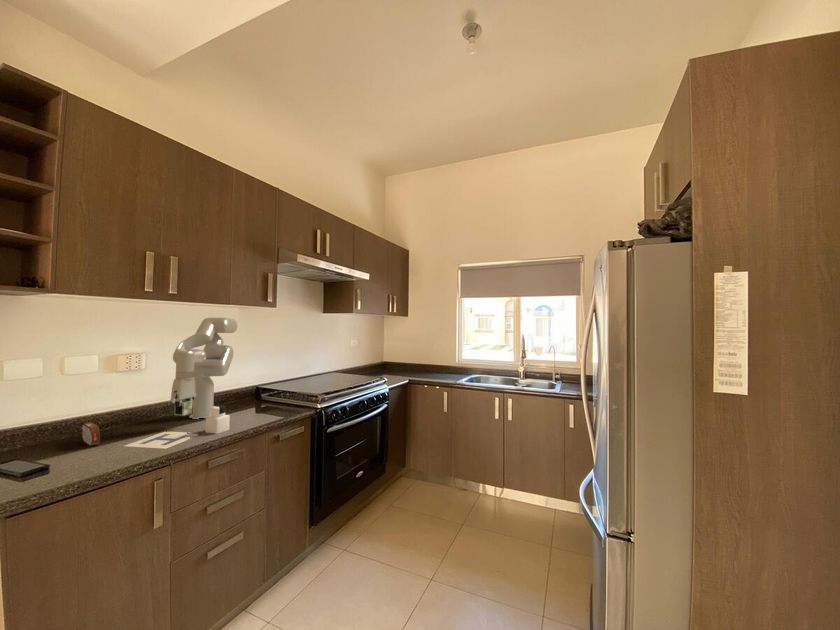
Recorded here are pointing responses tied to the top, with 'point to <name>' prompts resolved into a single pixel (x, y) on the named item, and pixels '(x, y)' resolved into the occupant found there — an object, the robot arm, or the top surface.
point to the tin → (91, 434)
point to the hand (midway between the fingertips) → (183, 412)
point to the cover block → (186, 408)
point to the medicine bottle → (217, 420)
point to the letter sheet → (161, 440)
